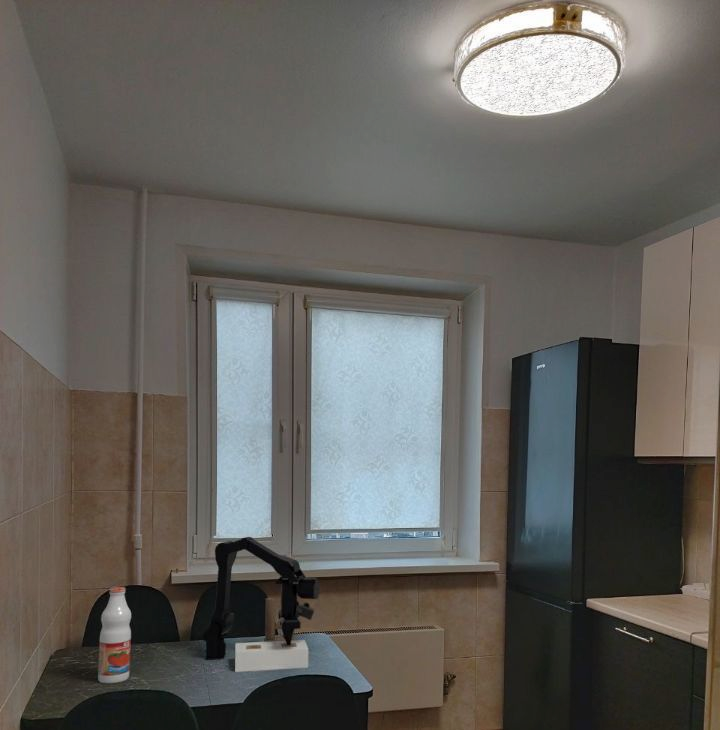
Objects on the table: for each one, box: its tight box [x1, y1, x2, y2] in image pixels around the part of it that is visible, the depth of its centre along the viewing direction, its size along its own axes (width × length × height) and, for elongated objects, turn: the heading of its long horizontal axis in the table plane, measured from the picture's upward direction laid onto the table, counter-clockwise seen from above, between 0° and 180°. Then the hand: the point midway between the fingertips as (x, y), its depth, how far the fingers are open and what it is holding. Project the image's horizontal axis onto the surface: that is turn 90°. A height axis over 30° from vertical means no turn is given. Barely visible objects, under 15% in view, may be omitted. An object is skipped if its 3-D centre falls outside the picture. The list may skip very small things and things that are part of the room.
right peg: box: [282, 643, 296, 647], centre depth 231 cm, size 4×4×5 cm
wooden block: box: [263, 597, 295, 642], centre depth 251 cm, size 4×11×18 cm, turn 111°
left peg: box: [247, 645, 260, 649], centre depth 229 cm, size 4×4×5 cm
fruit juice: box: [97, 586, 132, 684], centre depth 216 cm, size 9×9×28 cm
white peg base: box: [234, 639, 309, 673], centre depth 230 cm, size 24×12×6 cm, turn 101°
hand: (288, 645), depth 231 cm, fingers closed, pressing on right peg
